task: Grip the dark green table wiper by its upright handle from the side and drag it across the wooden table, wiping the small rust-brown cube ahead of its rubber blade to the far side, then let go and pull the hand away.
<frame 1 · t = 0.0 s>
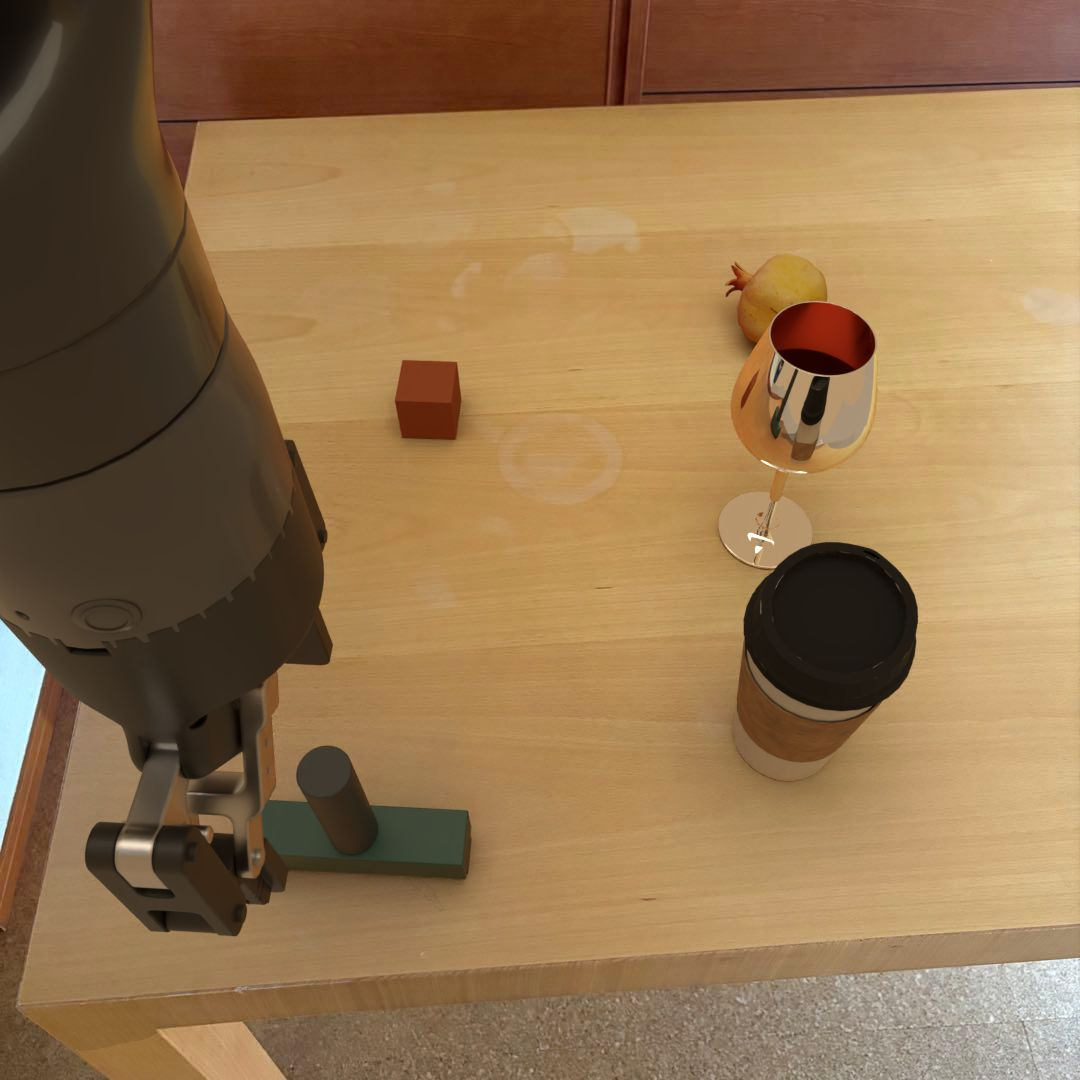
hand: (283, 762, 37), 22 cm above the table, tool pointing down, fingers open, 8 cm apart
wineglass: (764, 531, 69), on the table
coffee cup: (781, 735, 61), on the table
fruit: (773, 336, 80), on the table
rust-brown cube: (432, 418, 75), on the table
wiper: (364, 851, 57), on the table
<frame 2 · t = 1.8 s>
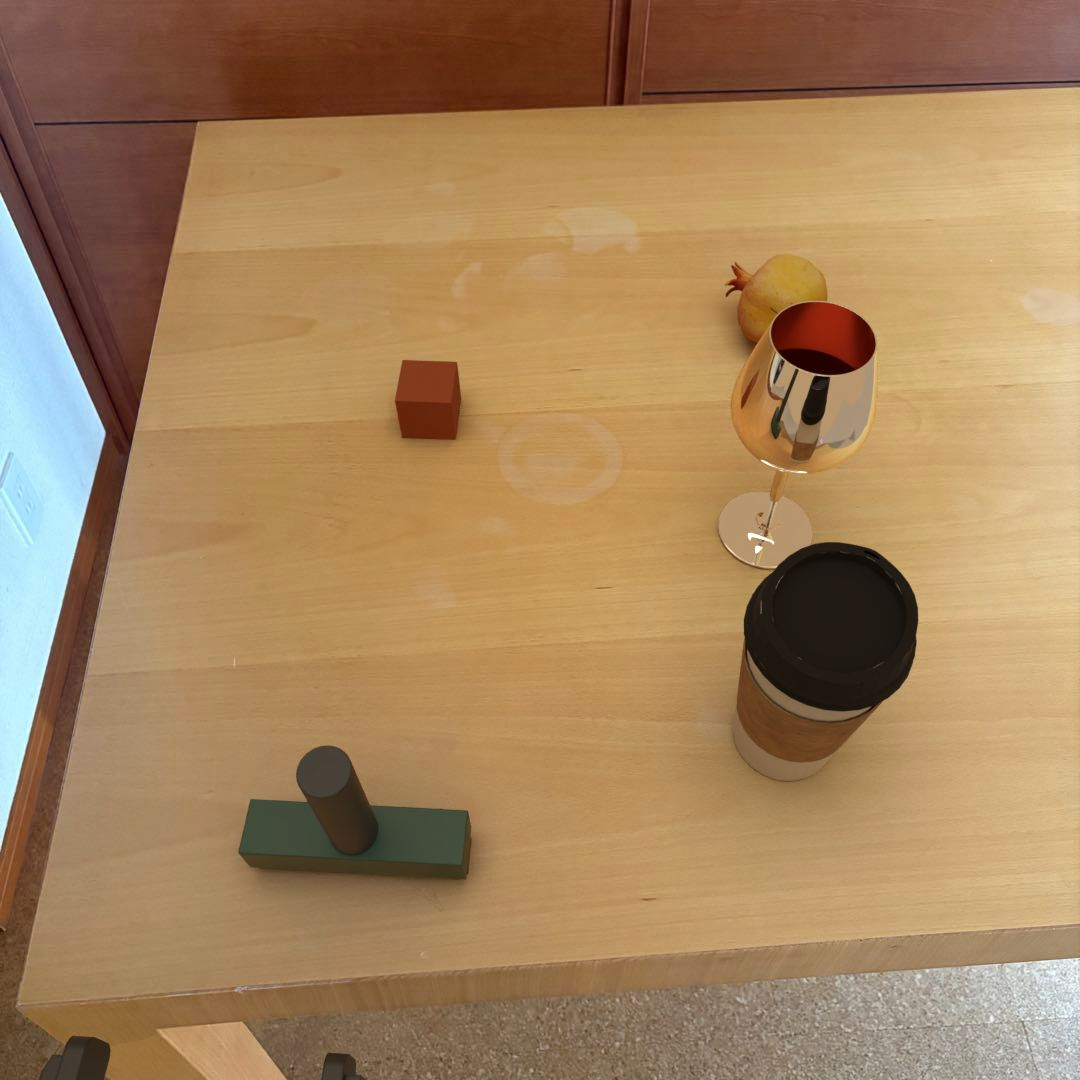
hand: (215, 1047, 34), 19 cm above the table, tool horizontal, fingers open, 8 cm apart
nothing on the table moved.
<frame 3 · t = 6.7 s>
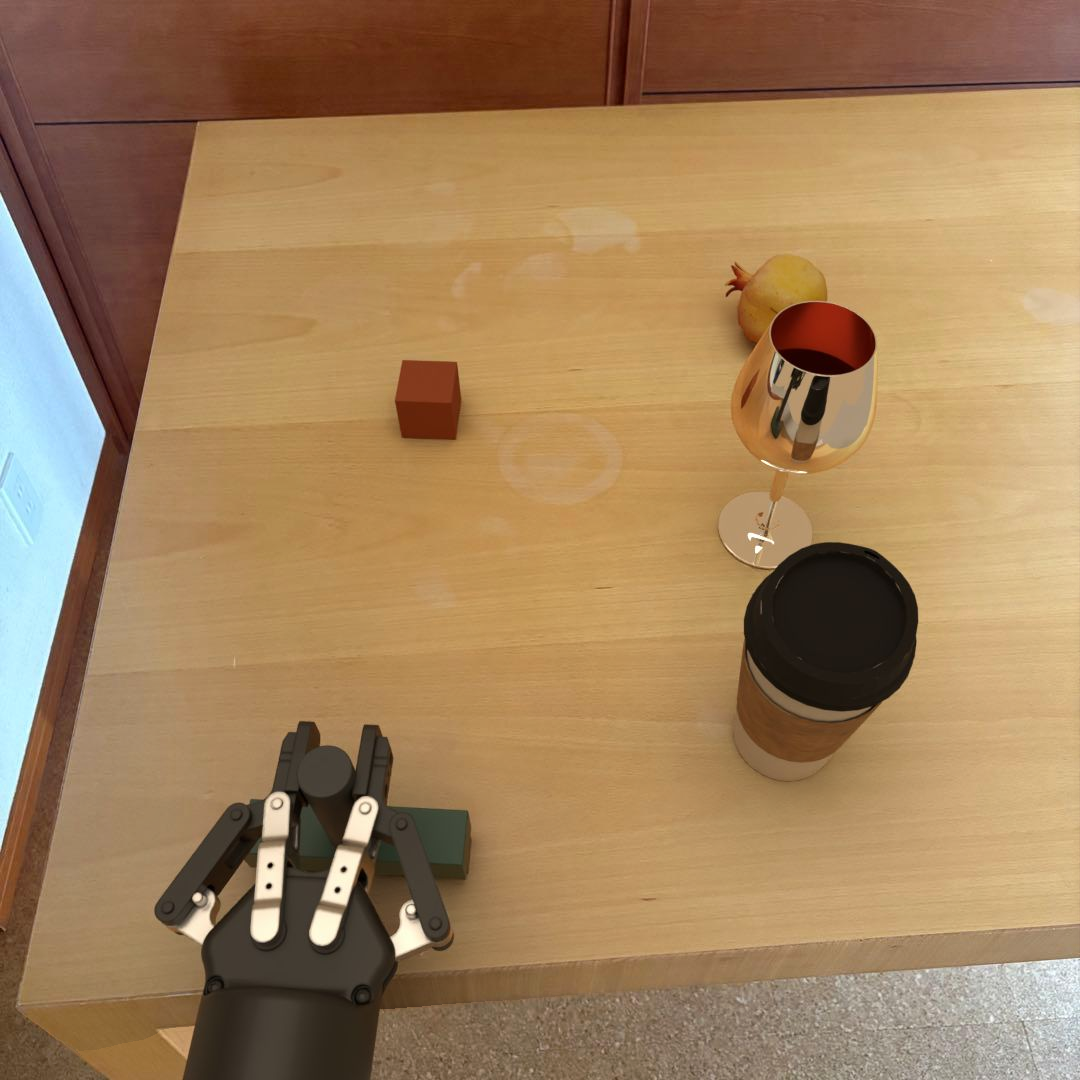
hand: (341, 730, 50), 10 cm above the table, tool horizontal, fingers closed on wiper, 2 cm apart
wiper: (364, 851, 57), on the table, touching gripper
everything else where it was.
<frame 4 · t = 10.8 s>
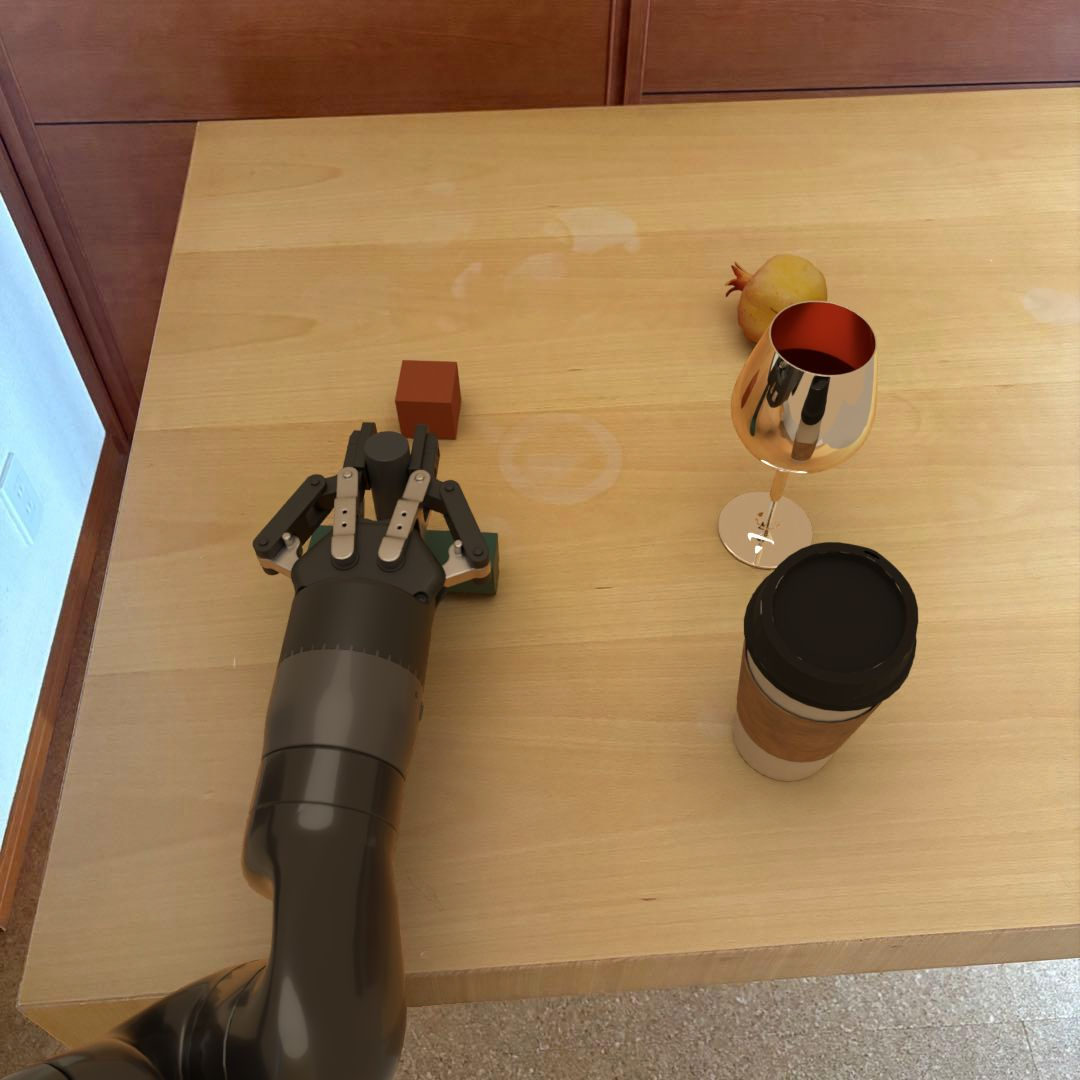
hand: (397, 432, 61), 10 cm above the table, tool horizontal, fingers closed on wiper, 2 cm apart
wiper: (407, 579, 67), on the table, tilted 8°, touching gripper
everything else where it was.
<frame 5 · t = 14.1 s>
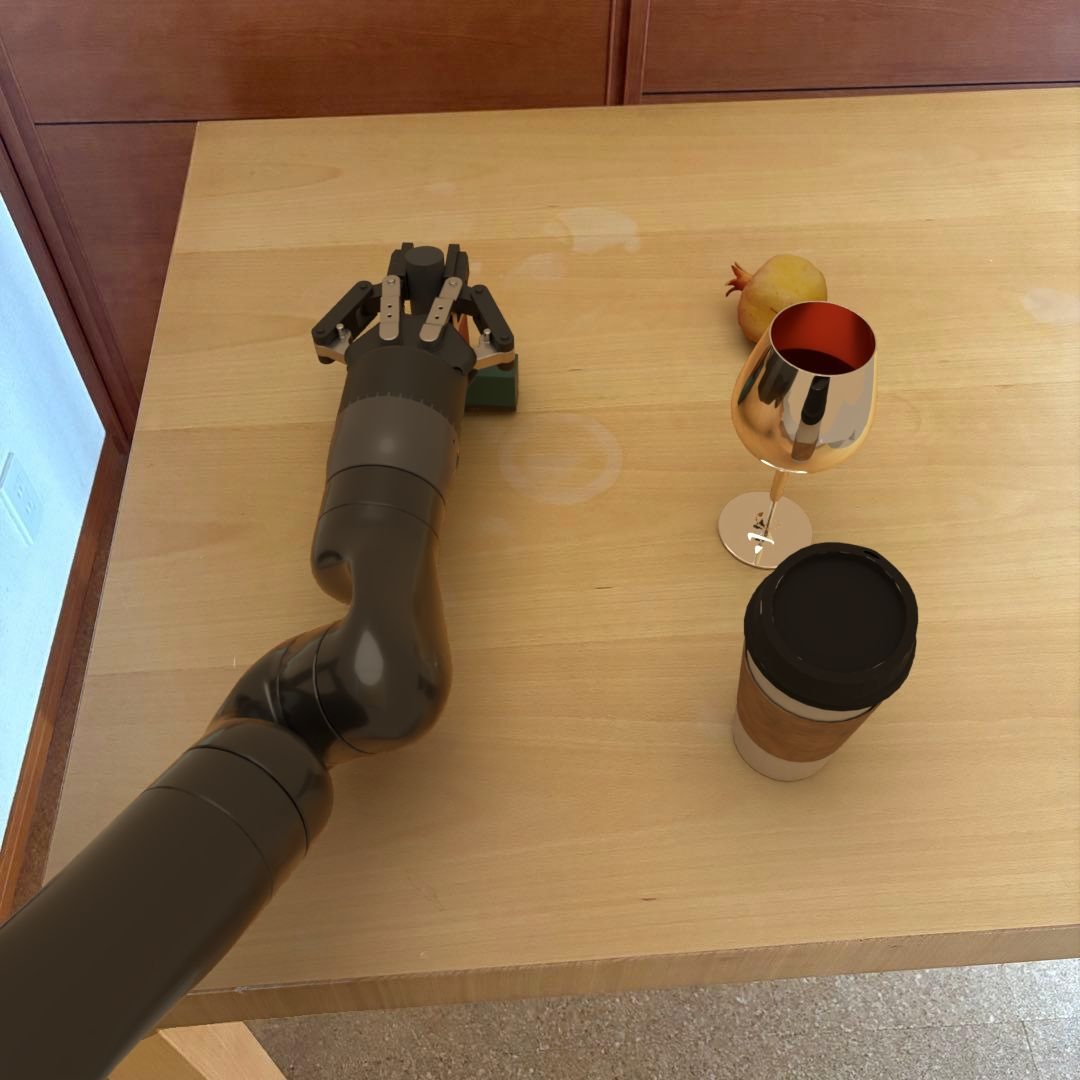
hand: (432, 253, 70), 10 cm above the table, tool horizontal, fingers closed on wiper, 2 cm apart
rust-brown cube: (441, 363, 78), on the table, touching wiper
wiper: (437, 400, 76), on the table, tilted 11°, touching rust-brown cube, gripper
everything else where it was.
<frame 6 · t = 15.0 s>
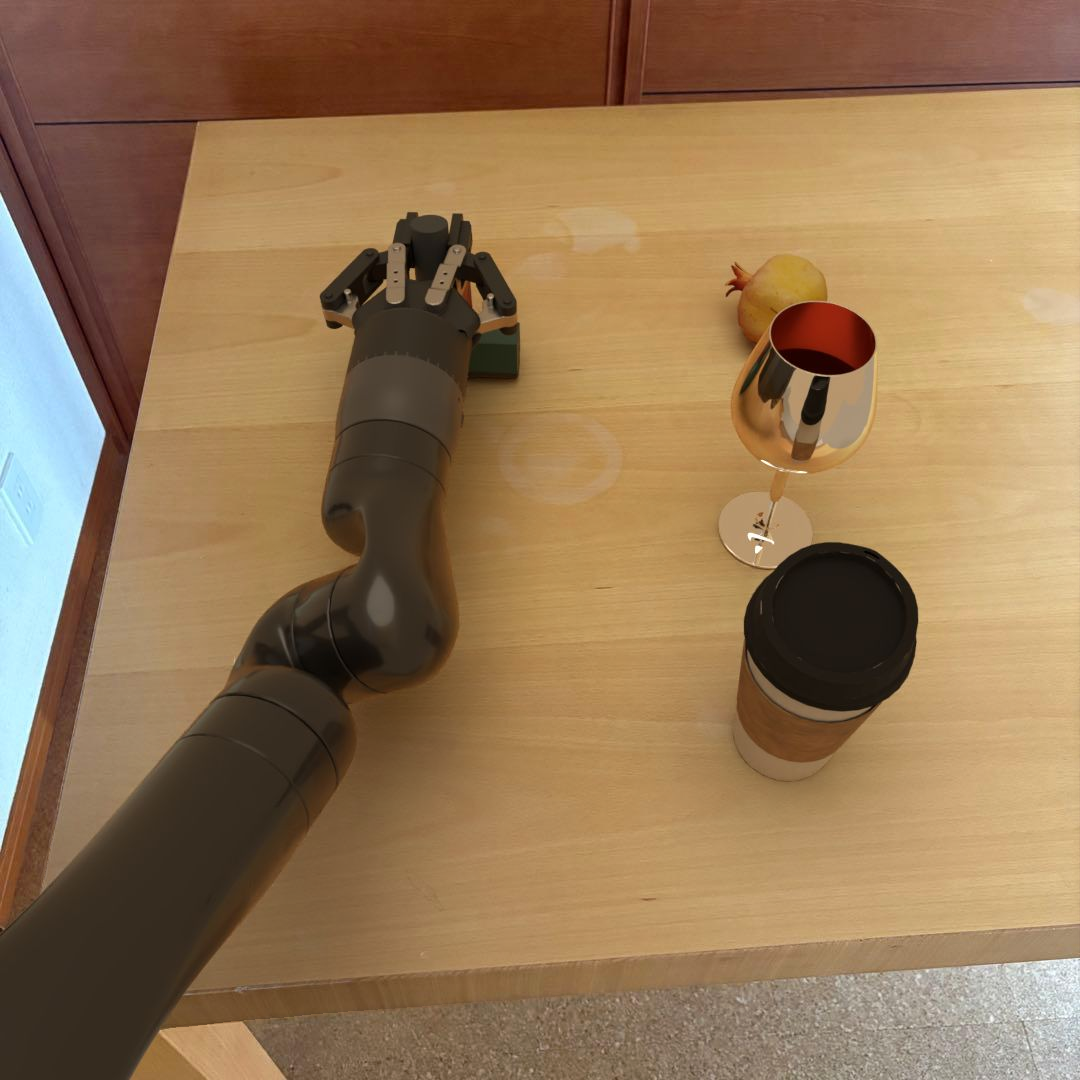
hand: (436, 223, 72), 10 cm above the table, tool horizontal, fingers closed on wiper, 2 cm apart
rust-brown cube: (445, 332, 80), on the table, touching wiper
wiper: (441, 368, 78), on the table, tilted 11°, touching rust-brown cube, gripper
everything else where it was.
when the fingers open (10 cm above the table, at t = 15.3 s): wiper stays where it is, on the table.
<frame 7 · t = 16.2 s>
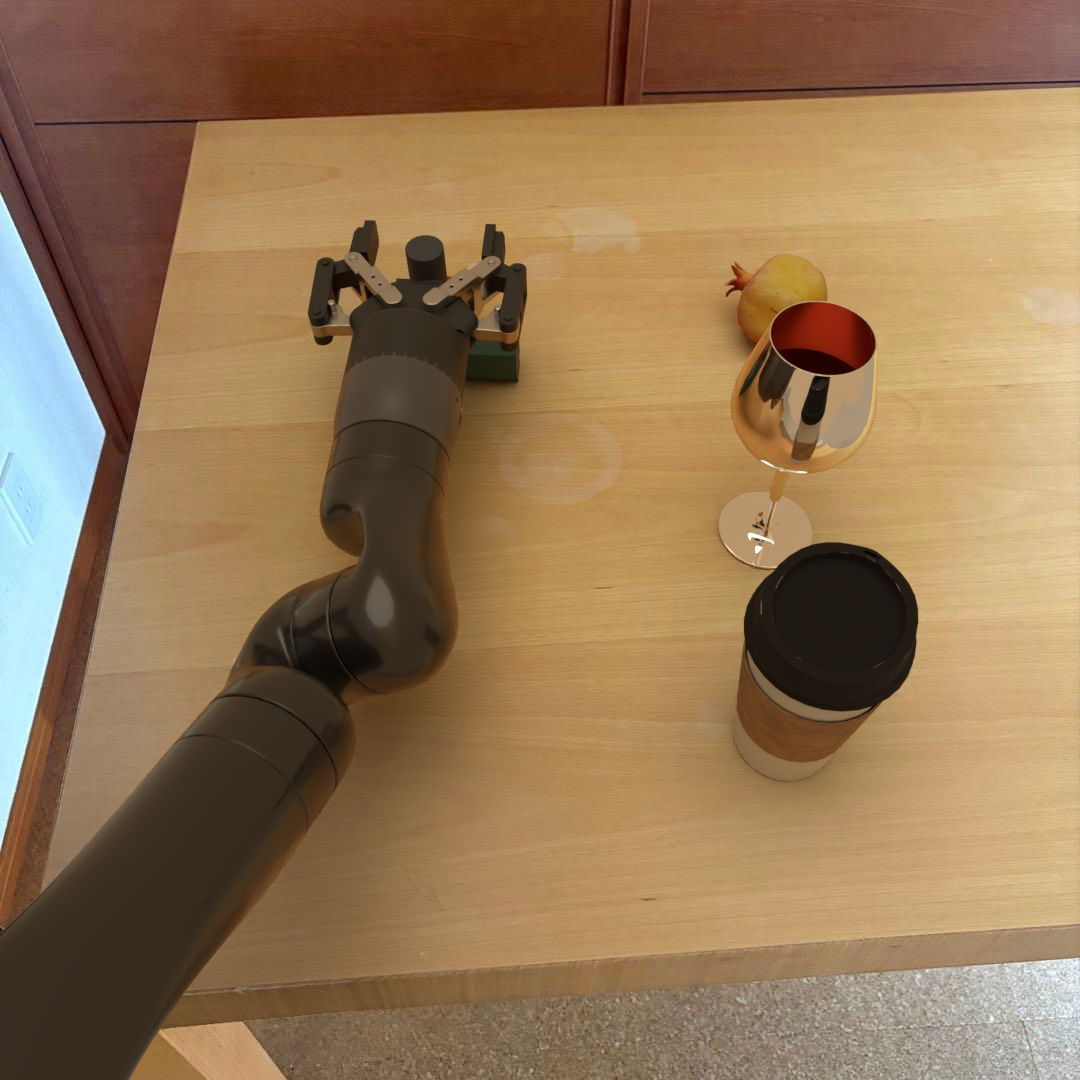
hand: (431, 231, 72), 10 cm above the table, tool horizontal, fingers open, 8 cm apart
rust-brown cube: (445, 332, 80), on the table
wiper: (441, 370, 78), on the table
everything else where it was.
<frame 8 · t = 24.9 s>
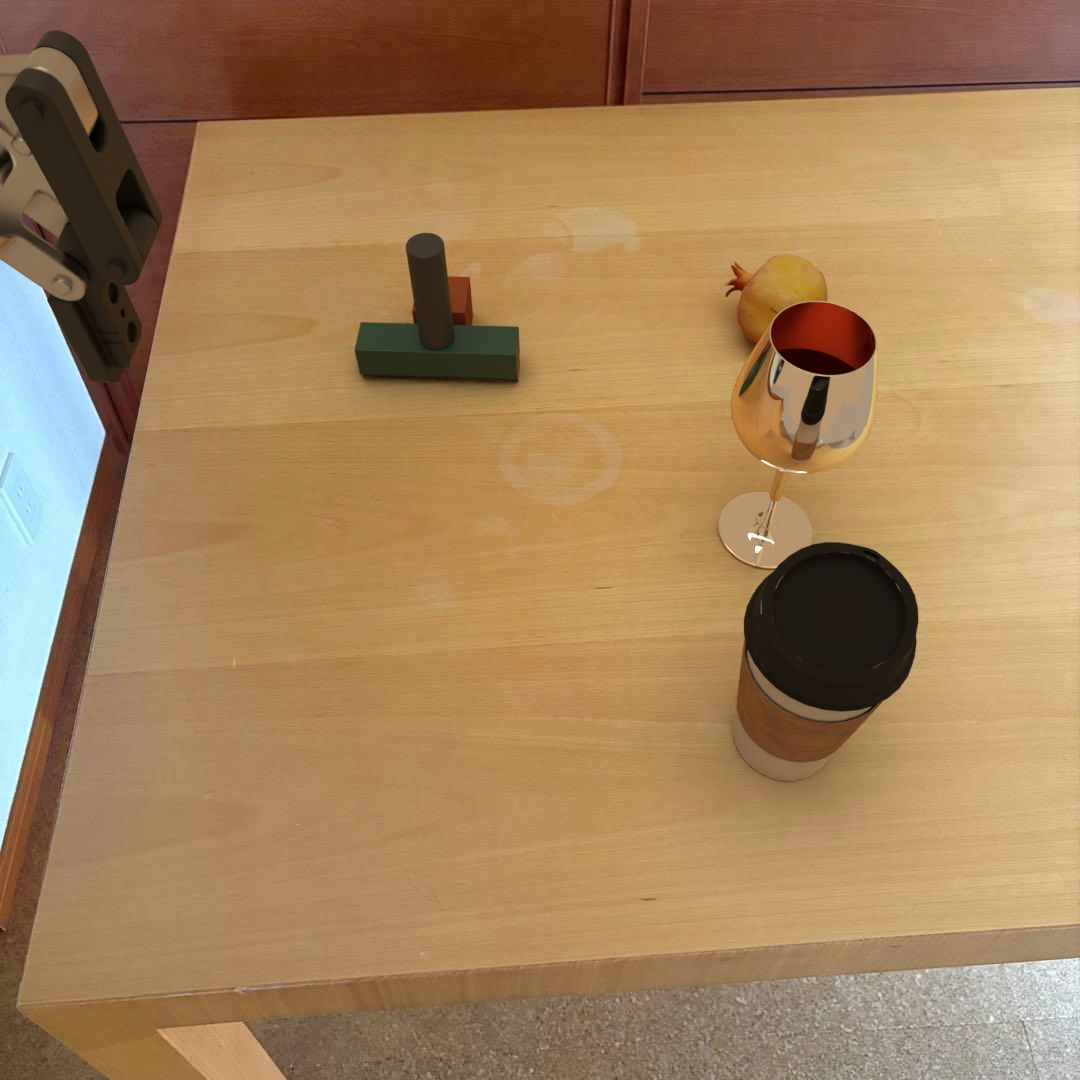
nothing on the table moved.
at the end: rust-brown cube inside the target area (2.5 cm from its centre), on the table; wiper moved 37.2 cm from its start; wiper tilted 0° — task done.
